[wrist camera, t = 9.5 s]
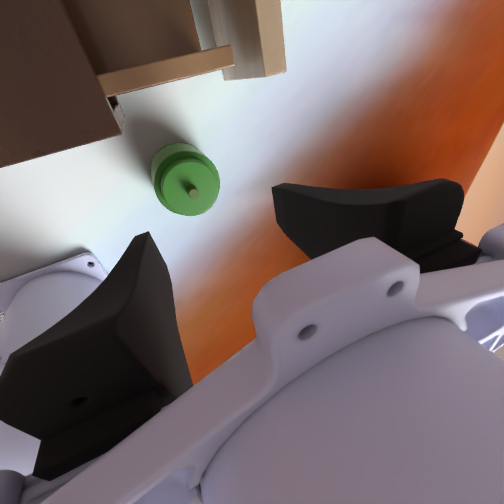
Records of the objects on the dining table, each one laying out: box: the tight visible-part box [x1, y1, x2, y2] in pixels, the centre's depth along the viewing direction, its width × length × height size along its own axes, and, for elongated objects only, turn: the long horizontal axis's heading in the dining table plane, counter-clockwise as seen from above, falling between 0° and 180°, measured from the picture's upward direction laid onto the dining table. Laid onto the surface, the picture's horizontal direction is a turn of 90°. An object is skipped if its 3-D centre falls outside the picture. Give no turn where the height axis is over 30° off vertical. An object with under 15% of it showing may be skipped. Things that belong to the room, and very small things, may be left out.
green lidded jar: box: [151, 143, 220, 216], centre depth 18 cm, size 5×5×5 cm
